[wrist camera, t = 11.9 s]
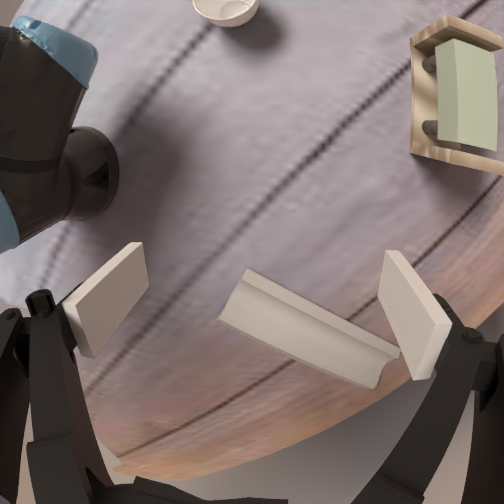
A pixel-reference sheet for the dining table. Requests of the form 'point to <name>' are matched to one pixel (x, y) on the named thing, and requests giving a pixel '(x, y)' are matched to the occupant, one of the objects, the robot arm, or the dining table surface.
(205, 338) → the dining table surface
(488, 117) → the pale green block
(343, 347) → the crown molding
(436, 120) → the frame
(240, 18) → the cup
